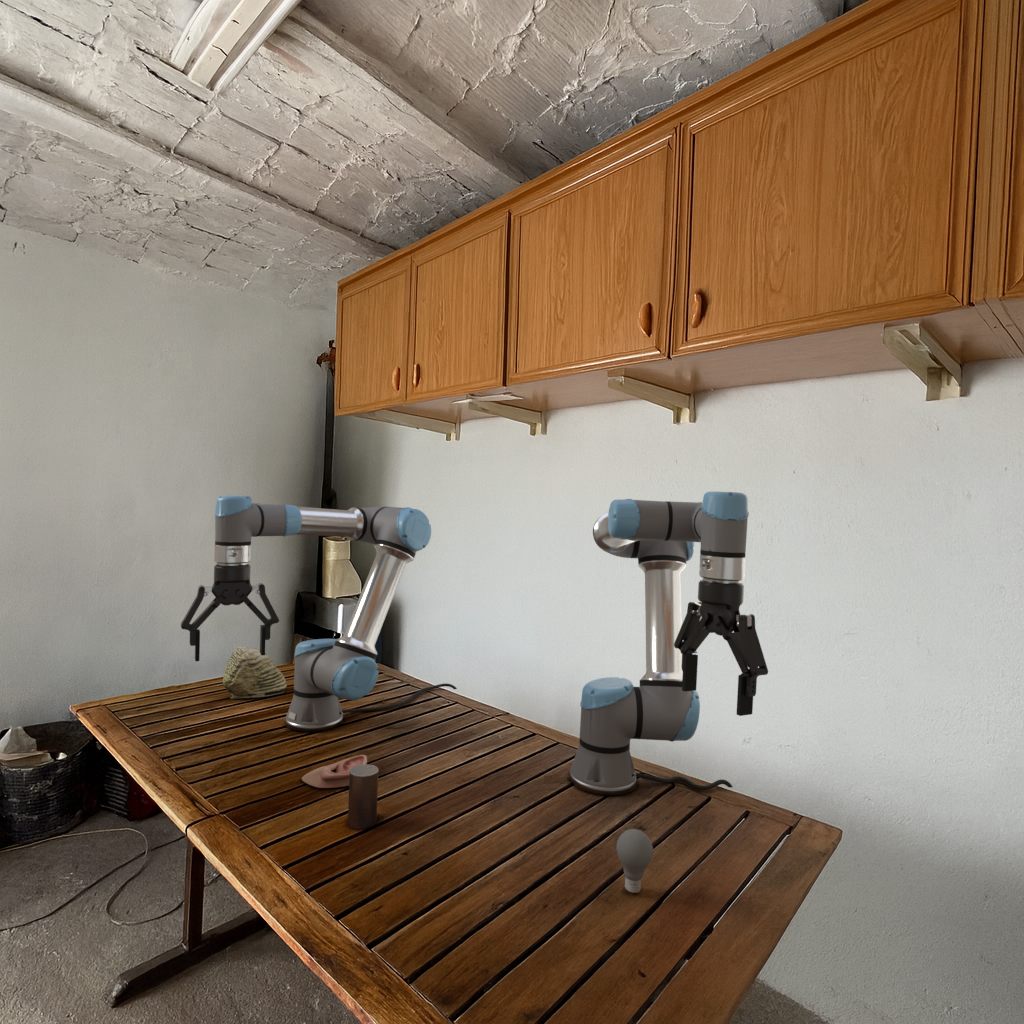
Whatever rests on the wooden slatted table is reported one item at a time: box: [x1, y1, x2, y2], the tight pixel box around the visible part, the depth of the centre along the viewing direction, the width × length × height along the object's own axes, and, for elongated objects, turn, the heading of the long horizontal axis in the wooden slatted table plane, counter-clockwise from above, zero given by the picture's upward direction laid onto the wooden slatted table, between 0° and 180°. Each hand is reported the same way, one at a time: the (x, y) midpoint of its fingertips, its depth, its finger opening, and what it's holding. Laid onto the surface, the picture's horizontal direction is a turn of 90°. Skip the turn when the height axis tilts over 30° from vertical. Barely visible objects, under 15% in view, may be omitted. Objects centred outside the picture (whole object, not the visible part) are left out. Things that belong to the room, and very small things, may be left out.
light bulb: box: [615, 828, 654, 894], centre depth 106 cm, size 6×6×10 cm
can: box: [347, 763, 380, 830], centre depth 124 cm, size 6×6×10 cm
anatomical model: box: [301, 754, 368, 789], centre depth 143 cm, size 13×4×12 cm
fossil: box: [222, 646, 288, 699], centre depth 198 cm, size 9×18×15 cm, turn 132°
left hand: (230, 657), depth 144 cm, fingers open, 13 cm apart
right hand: (715, 701), depth 110 cm, fingers open, 13 cm apart
